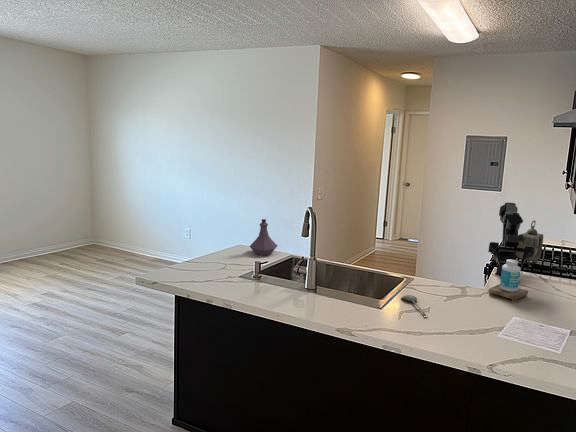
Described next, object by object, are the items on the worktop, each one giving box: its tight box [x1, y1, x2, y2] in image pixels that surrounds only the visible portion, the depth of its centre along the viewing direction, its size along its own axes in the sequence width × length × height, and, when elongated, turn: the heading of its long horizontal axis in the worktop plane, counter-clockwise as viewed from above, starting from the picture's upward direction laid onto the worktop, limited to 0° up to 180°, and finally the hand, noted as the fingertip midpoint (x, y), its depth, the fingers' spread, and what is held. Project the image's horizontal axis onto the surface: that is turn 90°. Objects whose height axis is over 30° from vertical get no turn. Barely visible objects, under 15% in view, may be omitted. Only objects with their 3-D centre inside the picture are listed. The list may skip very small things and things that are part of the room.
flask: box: [249, 218, 278, 256], centre depth 260 cm, size 16×16×20 cm
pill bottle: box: [499, 259, 521, 292], centre depth 201 cm, size 8×7×14 cm
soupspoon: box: [401, 294, 427, 317], centre depth 189 cm, size 22×3×7 cm
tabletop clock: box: [515, 219, 544, 268], centre depth 247 cm, size 14×9×25 cm, turn 137°
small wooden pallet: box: [488, 283, 529, 304], centre depth 203 cm, size 12×12×3 cm
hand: (510, 265), depth 205 cm, fingers open, 9 cm apart
